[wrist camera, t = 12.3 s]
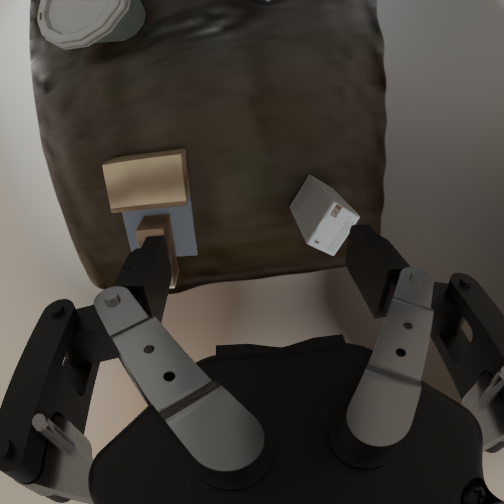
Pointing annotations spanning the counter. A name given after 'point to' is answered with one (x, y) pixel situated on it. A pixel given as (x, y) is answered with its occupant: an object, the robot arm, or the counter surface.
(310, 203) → the skincare box
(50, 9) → the disposable coffee cup
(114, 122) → the counter surface
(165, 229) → the walnut block
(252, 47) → the counter surface
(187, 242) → the rubber mat
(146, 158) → the beech step
